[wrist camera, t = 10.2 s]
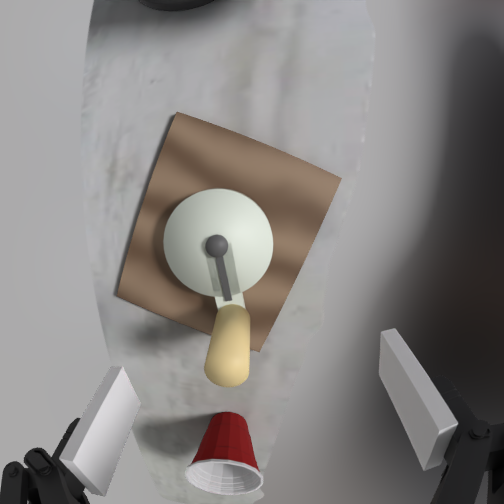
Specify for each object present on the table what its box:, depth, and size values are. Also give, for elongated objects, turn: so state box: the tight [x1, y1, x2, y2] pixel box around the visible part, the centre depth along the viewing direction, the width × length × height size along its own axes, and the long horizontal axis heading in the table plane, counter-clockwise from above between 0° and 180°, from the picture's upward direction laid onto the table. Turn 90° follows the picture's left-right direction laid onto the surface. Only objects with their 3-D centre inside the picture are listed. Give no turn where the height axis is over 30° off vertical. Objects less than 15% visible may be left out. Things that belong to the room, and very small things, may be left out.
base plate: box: [117, 112, 342, 352], centre depth 36 cm, size 24×20×1 cm
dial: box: [163, 188, 273, 387], centre depth 31 cm, size 17×12×12 cm
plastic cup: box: [184, 412, 263, 495], centre depth 39 cm, size 11×11×12 cm
